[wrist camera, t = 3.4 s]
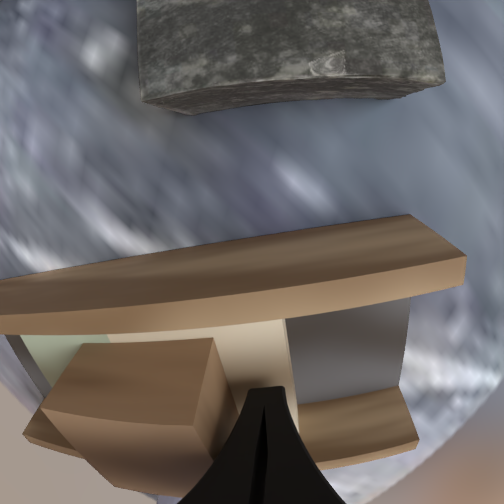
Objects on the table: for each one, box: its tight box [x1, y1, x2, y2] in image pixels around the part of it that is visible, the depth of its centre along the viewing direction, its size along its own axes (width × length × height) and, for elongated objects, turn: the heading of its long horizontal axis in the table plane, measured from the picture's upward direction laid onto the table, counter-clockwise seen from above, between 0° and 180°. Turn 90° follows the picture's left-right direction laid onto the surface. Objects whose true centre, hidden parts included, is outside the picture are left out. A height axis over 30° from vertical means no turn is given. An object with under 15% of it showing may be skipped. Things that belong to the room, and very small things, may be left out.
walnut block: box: [40, 337, 239, 498], centre depth 10 cm, size 6×6×4 cm
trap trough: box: [0, 214, 467, 470], centre depth 13 cm, size 11×25×4 cm, turn 100°
